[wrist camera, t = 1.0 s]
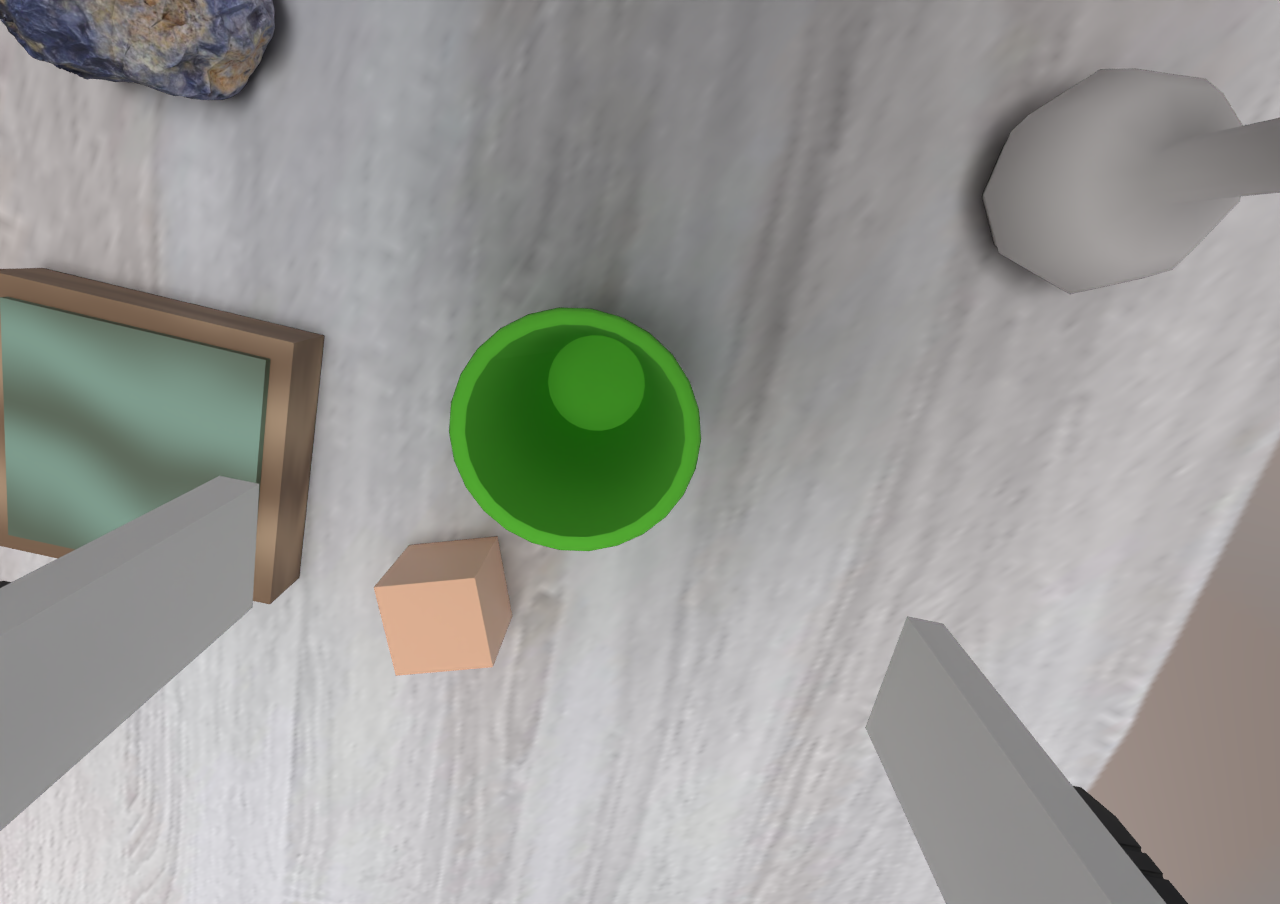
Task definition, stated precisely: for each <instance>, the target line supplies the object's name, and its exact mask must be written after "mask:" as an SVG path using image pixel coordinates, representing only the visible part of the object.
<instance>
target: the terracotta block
mask: <svg viewBox="0 0 1280 904" xmlns="http://www.w3.org/2000/svg"><path fill="white" fill-rule="evenodd" d="M374 590H375V594H376V598H377V602H378V606H379V610H380V614H381V618H382V622H383V626H384V630H385V634H386V638H387V642H388V646H389V650H390V654H391V658H392V662H393V666H394V670H395V674H396V676H397V675H408V674H420V673H431V672H442V671H454V670H465V669H476V668H488V667H493V665H494V663H495V660H496V657H497V655H498V652H499V650H500V647H501V644H502V642H503V639H504V637H505V634H506V631H507V629H508V626H509V624H510V621H511V618H512V611H511V606H510V601H509V595H508V590H507V585H506V579H505V574H504V569H503V563H502V558H501V553H500V547H499V542H498V537H497V536H496V537H485V538H475V539H465V540H455V541H445V542H435V543H425V544H414V545H409V546H408V547H407V548H406V549H405V551H404V552H403V553H402V554H401V555H400V557H399V558H398V559H397V560H396V561H395V563H394V564H393V565H392V566H391V567H390V569H389V570H388V571H387V572H386V573H385V575H384V576H383V577H382V578H381V579H380V581H379V582H378V583H377V584H376V585H375V587H374Z"/></svg>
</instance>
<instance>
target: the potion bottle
mask: <svg viewBox="0 0 1280 904" xmlns="http://www.w3.org/2000/svg"><path fill="white" fill-rule="evenodd" d="M1279 192H1280V118H1276V119H1272V120H1267V121H1263V122H1258V123H1254V124H1249V125H1245V126H1243V125H1242V123H1241V122H1240V120H1239V118H1238V117H1237V115H1236V114H1235V112H1234V110H1233V109H1232V107H1231V105H1230V104H1229V102H1228V101H1227V99H1226V97H1225V96H1224V94H1223V93H1222V92H1221V91H1220V90H1219V89H1217V88H1216V87H1215V86H1214V85H1213V84H1211V83H1210V82H1209V81H1208V80H1207V79H1203V78H1196V77H1189V76H1182V75H1175V74H1168V73H1161V72H1155V71H1148V70H1141V69H1100V70H1098V71H1097V72H1095V73H1094V74H1092V75H1090V76H1089V77H1087V78H1086V79H1084V80H1083V81H1081V82H1079V83H1078V84H1076V85H1075V86H1073V87H1072V88H1070V89H1068V90H1067V91H1065V92H1064V93H1062V94H1061V95H1059V96H1057V97H1056V98H1054V99H1053V100H1051V101H1050V102H1048V103H1046V104H1045V105H1043V106H1042V107H1040V108H1039V109H1037V110H1035V111H1034V112H1032V113H1031V114H1029V115H1028V116H1027V117H1026V118H1025V119H1024V120H1023V121H1022V122H1021V123H1019V124H1018V125H1017V126H1016V127H1015V128H1014V129H1013V130H1012V131H1011V133H1010V135H1009V138H1008V140H1007V142H1006V143H1005V144H1004V146H1003V148H1002V151H1001V153H1000V155H999V158H998V160H997V162H996V165H995V167H994V169H993V171H992V174H991V176H990V178H989V181H988V183H987V185H986V188H985V190H984V192H983V195H982V199H983V203H984V207H985V211H986V215H987V218H988V222H989V226H990V230H991V234H992V238H993V242H994V245H995V246H997V248H998V252H999V253H1000V254H1002V255H1003V256H1005V257H1007V258H1008V259H1010V260H1012V261H1014V262H1015V263H1017V264H1019V265H1020V266H1022V267H1024V268H1026V269H1027V270H1029V271H1031V272H1032V273H1034V274H1036V275H1038V276H1039V277H1041V278H1043V279H1044V280H1046V281H1048V282H1050V283H1051V284H1053V285H1055V286H1057V287H1058V288H1060V289H1062V290H1064V291H1065V292H1067V293H1069V294H1073V293H1078V292H1082V291H1087V290H1091V289H1096V288H1101V287H1105V286H1110V285H1114V284H1119V283H1123V282H1128V281H1133V280H1137V279H1142V278H1145V277H1149V276H1152V275H1155V274H1159V273H1162V272H1166V271H1169V270H1172V269H1173V268H1175V267H1176V266H1177V265H1178V264H1179V263H1180V262H1181V261H1182V260H1183V259H1184V258H1185V257H1186V256H1187V255H1188V254H1189V253H1190V252H1191V251H1192V250H1193V249H1194V248H1195V247H1196V246H1197V245H1198V244H1199V243H1200V242H1201V241H1202V240H1203V239H1204V238H1205V237H1206V236H1207V235H1208V234H1209V233H1210V232H1211V231H1212V230H1213V229H1214V228H1215V227H1216V226H1217V225H1218V224H1219V222H1220V221H1221V220H1222V219H1223V218H1224V217H1225V216H1226V215H1227V214H1228V213H1229V212H1230V211H1231V210H1232V209H1233V208H1234V207H1235V206H1236V205H1237V204H1238V203H1239V202H1240V197H1241V196H1249V195H1259V194H1269V193H1279Z"/></svg>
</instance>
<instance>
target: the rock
mask: <svg viewBox="0 0 1280 904" xmlns="http://www.w3.org/2000/svg"><path fill="white" fill-rule="evenodd" d="M0 19H1V21H2V22H3V23H4V24H5V25H6V27H7V29H8V31H9V32H10V33H11V34H12V35H13V36H15V38H16V39H17V41H18V42H19V43H20V44H21V45H22V46H23V47H24V48H25V50H26V51H27V52H28V54H29V55H30V56H32V57H33V58H35V59H38V60H40V61H46V62H49V63H52V64H54V65H55V66H56V67H58V68H59V69H61V68H62V69H63V70H66V71H69V72H70V73H71V72H72V73H74V74H77V75H79V76H80V77H83V78H84V79H103V80H108V81H113V82H129V83H130V82H135V83H139V84H143V85H146V86H148V87H151V88H153V89H156V90H159V91H161V92H164V93H167V94H170V95H173V96H184V97H187V98H191V99H200V100H223V99H227V98H230V97H232V96H234V95H236V94H237V93H239V92H240V91H241V90H242V88H243V87H244V86H245V85H246V84H247V81H248V78H249V76H250V75H251V74H252V73H253V72H254V70H255V69H256V67H257V66H258V65H259V63H260V62H261V59H262V56H263V53H264V51H265V49H266V47H267V45H268V43H269V41H270V40H271V39H272V37H273V33H274V28H275V22H274V6H273V2H272V0H0Z"/></svg>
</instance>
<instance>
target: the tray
mask: <svg viewBox="0 0 1280 904" xmlns="http://www.w3.org/2000/svg"><path fill="white" fill-rule="evenodd" d="M323 344H324V335H320V334H316V333H311V332H307V331H303V330H299V329H295V328H291V327H286V326H282V325H278V324H274V323H270V322H266V321H261V320H257V319H253V318H249V317H245V316H241V315H236V314H232V313H228V312H224V311H220V310H216V309H211V308H207V307H203V306H199V305H195V304H190V303H186V302H182V301H178V300H174V299H170V298H165V297H161V296H157V295H153V294H149V293H145V292H140V291H136V290H132V289H128V288H124V287H120V286H115V285H111V284H107V283H103V282H99V281H95V280H90V279H86V278H82V277H78V276H74V275H69V274H65V273H61V272H57V271H53V270H49V269H44V268H27V269H0V546H3V547H8V548H12V549H17V550H22V551H26V552H31V553H35V554H40V555H45V556H49V557H54V558H60V557H62V556H64V555H66V554H68V553H70V552H72V551H74V550H76V549H78V548H80V547H82V546H83V545H85V544H87V543H89V542H91V541H93V540H95V539H97V538H99V537H101V536H103V535H105V534H107V533H109V532H111V531H113V530H115V529H117V528H119V527H121V526H123V525H124V524H126V523H128V522H130V521H132V520H134V519H136V518H138V517H140V516H142V515H144V514H146V513H148V512H150V511H152V510H154V509H156V508H158V507H160V506H162V505H164V504H165V503H167V502H169V501H171V500H173V499H175V498H177V497H179V496H181V495H183V494H185V493H187V492H189V491H191V490H193V489H195V488H197V487H199V486H201V485H203V484H205V483H206V482H208V481H210V480H212V479H214V478H216V477H218V476H223V477H228V478H233V479H237V480H242V481H247V482H252V483H257V484H259V497H258V515H257V533H256V551H255V569H254V587H253V601H257V602H261V603H266V604H271V603H272V602H273V601H274V600H275V599H276V598H277V597H279V596H280V595H281V594H282V593H283V592H284V591H285V590H286V589H287V588H288V587H289V586H291V585H292V584H293V583H294V582H295V581H296V580H297V579H298V578H299V574H300V564H301V554H302V545H303V535H304V526H305V516H306V507H307V497H308V487H309V478H310V468H311V459H312V449H313V439H314V430H315V420H316V411H317V401H318V391H319V382H320V372H321V363H322V353H323Z"/></svg>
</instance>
